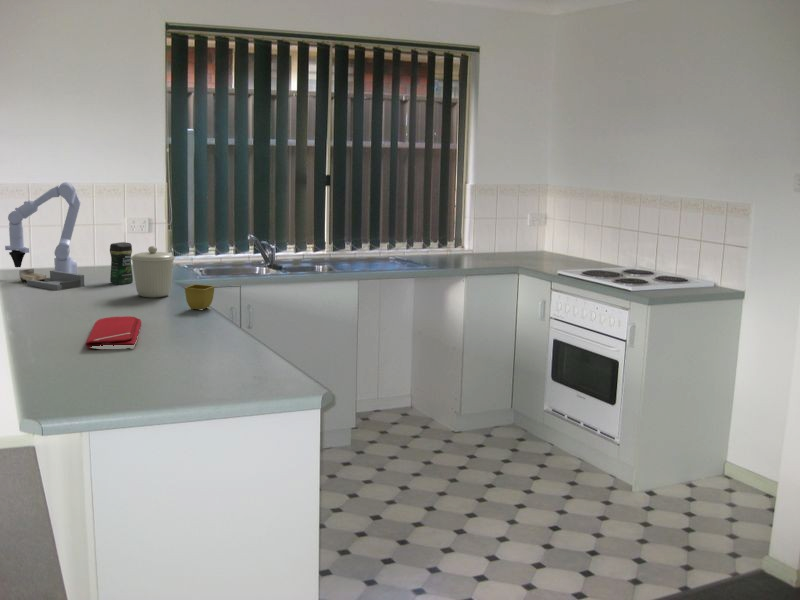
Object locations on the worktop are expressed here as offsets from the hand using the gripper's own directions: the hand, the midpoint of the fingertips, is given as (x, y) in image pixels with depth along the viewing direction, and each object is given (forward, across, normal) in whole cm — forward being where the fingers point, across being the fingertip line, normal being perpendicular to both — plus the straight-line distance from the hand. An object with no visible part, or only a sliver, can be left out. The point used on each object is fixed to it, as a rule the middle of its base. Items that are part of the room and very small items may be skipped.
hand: (17, 267), depth 404 cm
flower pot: (+6, +112, +1) cm, 112 cm away
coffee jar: (+6, +43, +23) cm, 49 cm away
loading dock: (+6, +26, 0) cm, 27 cm away
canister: (+6, +77, +10) cm, 77 cm away
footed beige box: (+6, +10, 0) cm, 12 cm away
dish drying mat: (+6, +121, -50) cm, 131 cm away
